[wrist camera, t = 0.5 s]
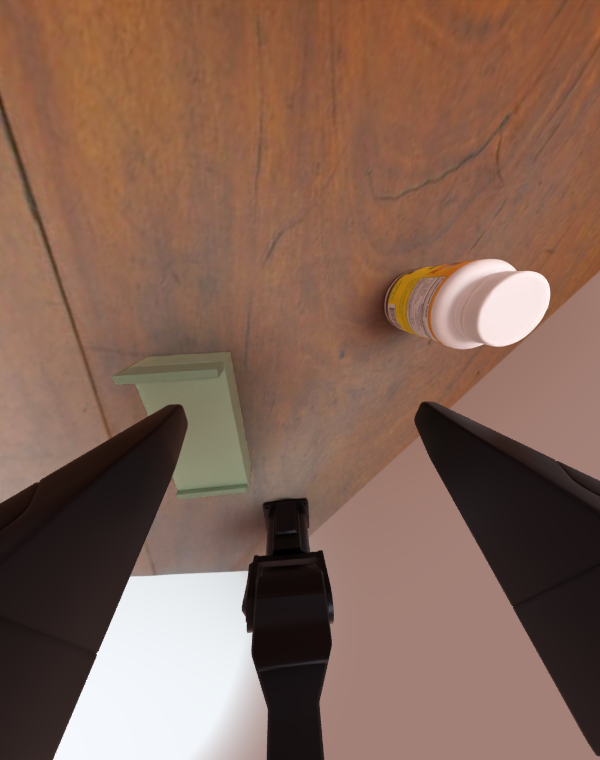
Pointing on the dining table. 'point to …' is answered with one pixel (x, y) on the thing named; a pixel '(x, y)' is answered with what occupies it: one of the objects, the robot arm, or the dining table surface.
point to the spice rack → (198, 418)
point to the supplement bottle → (468, 303)
